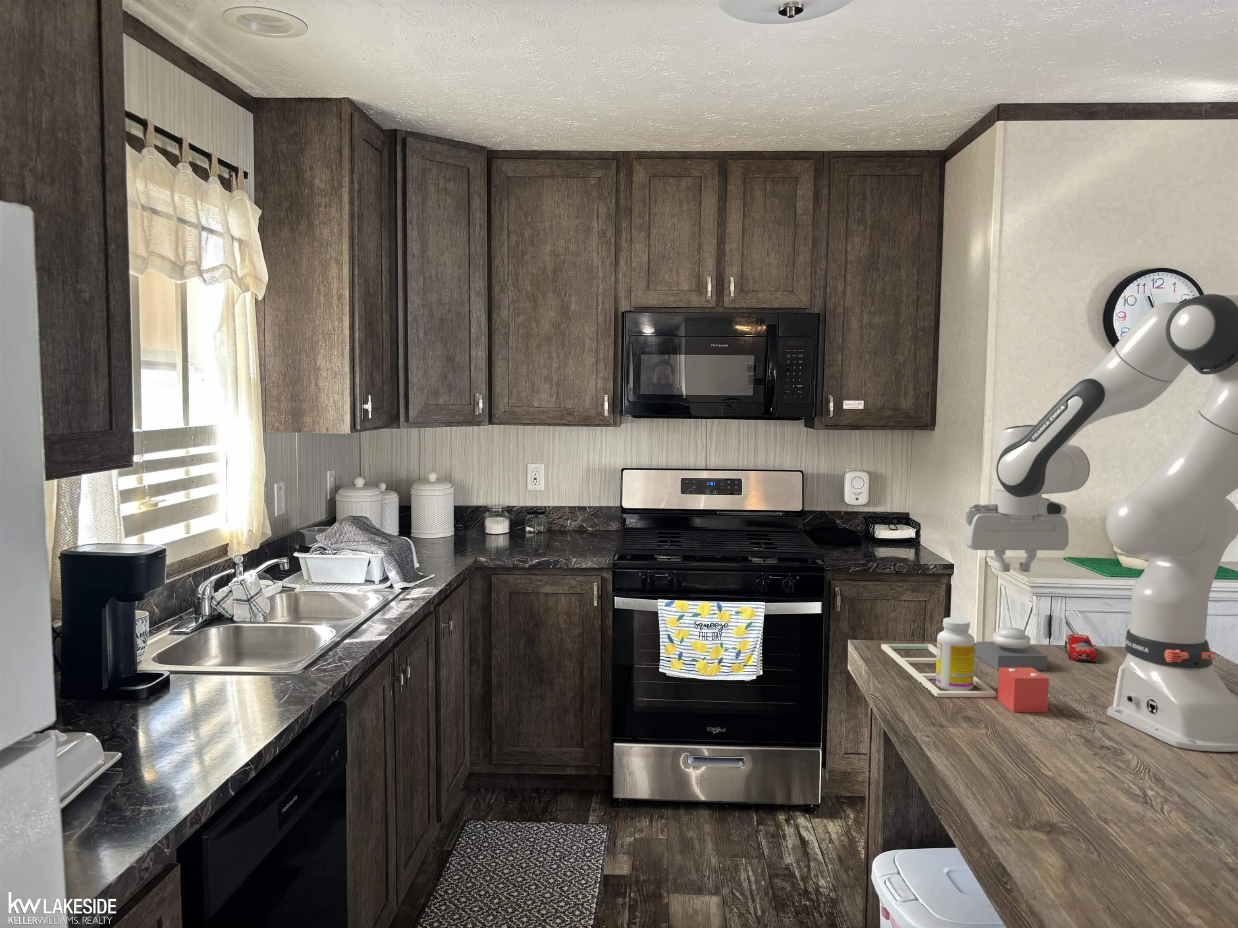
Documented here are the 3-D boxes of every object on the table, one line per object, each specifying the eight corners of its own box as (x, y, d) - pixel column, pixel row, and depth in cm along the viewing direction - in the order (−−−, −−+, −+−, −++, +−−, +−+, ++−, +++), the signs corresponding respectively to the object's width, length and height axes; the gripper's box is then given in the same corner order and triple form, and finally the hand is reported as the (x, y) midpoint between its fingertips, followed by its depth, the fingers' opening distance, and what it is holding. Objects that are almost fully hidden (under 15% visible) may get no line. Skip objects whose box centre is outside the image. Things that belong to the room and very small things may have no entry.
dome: (1036, 648, 175) (1037, 634, 175) (1002, 648, 175) (1003, 634, 175) (1019, 638, 182) (1020, 625, 182) (986, 638, 182) (987, 625, 182)
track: (996, 696, 158) (996, 692, 158) (936, 696, 158) (936, 692, 158) (931, 647, 189) (931, 644, 189) (881, 647, 189) (881, 644, 189)
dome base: (1046, 670, 174) (1047, 655, 174) (997, 670, 174) (998, 655, 173) (1022, 655, 184) (1023, 641, 184) (975, 655, 184) (976, 641, 183)
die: (1047, 711, 151) (1049, 677, 150) (1013, 711, 151) (1014, 677, 150) (1030, 699, 157) (1031, 666, 156) (997, 699, 157) (998, 666, 156)
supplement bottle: (980, 689, 162) (983, 621, 161) (958, 695, 159) (961, 626, 158) (950, 679, 168) (952, 614, 167) (927, 685, 164) (930, 618, 163)
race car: (1097, 666, 178) (1098, 647, 178) (1068, 662, 180) (1069, 643, 180) (1091, 648, 190) (1092, 631, 190) (1063, 645, 192) (1064, 628, 192)
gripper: (973, 506, 173) (971, 574, 174) (1074, 506, 173) (1071, 574, 174) (960, 502, 179) (957, 568, 180) (1057, 502, 180) (1054, 568, 181)
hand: (1014, 571), depth 177 cm, fingers open, 3 cm apart
